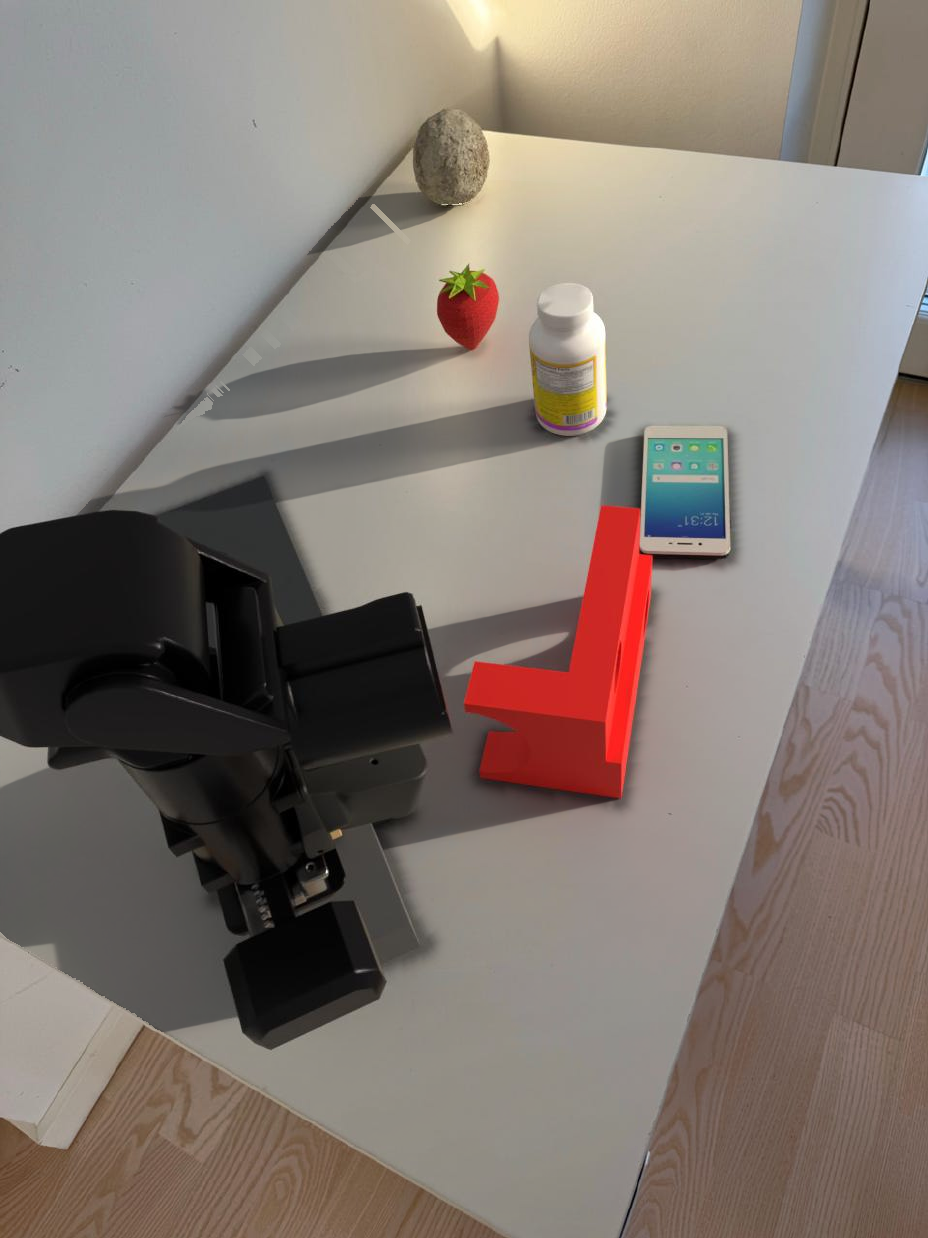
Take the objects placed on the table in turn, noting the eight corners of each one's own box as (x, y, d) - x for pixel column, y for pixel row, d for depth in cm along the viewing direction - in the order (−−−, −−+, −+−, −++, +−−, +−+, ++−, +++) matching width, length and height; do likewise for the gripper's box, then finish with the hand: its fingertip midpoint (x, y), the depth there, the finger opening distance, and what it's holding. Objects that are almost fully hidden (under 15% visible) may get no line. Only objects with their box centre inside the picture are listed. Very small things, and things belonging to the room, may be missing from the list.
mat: (406, 813, 71) (405, 811, 71) (219, 895, 69) (218, 893, 69) (265, 478, 93) (263, 475, 93) (121, 532, 91) (119, 529, 91)
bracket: (622, 724, 61) (463, 703, 64) (621, 798, 70) (480, 778, 72) (654, 509, 72) (516, 498, 74) (650, 596, 80) (526, 583, 82)
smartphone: (728, 425, 89) (732, 553, 80) (727, 432, 89) (731, 560, 81) (643, 424, 90) (638, 551, 81) (643, 431, 91) (637, 558, 82)
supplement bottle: (559, 382, 96) (553, 266, 86) (619, 404, 93) (620, 287, 83) (521, 425, 93) (510, 310, 83) (582, 448, 91) (578, 332, 80)
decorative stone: (479, 225, 114) (469, 140, 106) (410, 221, 116) (395, 137, 108) (503, 176, 119) (495, 92, 111) (436, 173, 122) (424, 90, 114)
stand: (420, 946, 65) (410, 925, 62) (291, 1005, 64) (274, 986, 61) (375, 831, 70) (364, 806, 67) (255, 883, 69) (238, 860, 66)
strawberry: (512, 327, 102) (504, 240, 94) (489, 375, 98) (478, 288, 90) (459, 321, 104) (446, 235, 96) (434, 368, 100) (418, 282, 92)
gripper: (473, 872, 38) (508, 993, 50) (323, 544, 49) (382, 710, 61) (193, 1001, 36) (301, 1092, 48) (102, 631, 47) (209, 783, 59)
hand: (304, 898), depth 54 cm, fingers closed
